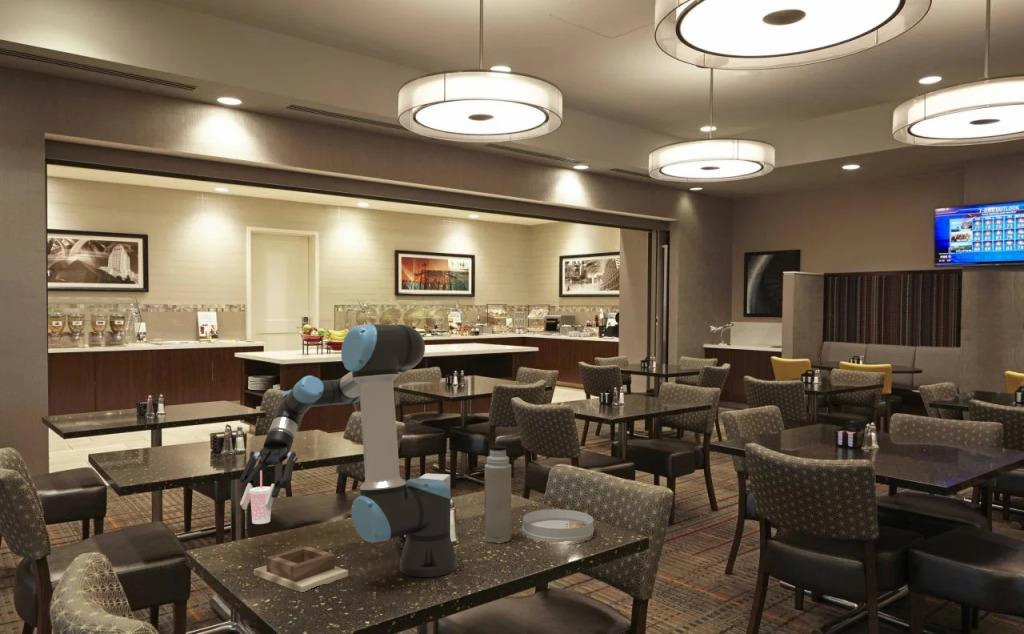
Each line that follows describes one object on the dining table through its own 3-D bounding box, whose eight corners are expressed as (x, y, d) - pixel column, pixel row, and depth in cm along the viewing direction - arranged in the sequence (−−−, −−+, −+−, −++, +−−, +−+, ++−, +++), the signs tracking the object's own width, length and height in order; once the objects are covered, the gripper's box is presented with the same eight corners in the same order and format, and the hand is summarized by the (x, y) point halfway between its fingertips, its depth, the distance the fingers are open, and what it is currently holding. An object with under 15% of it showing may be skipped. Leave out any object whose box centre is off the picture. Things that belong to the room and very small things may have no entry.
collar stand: (348, 576, 180) (348, 556, 180) (302, 593, 169) (302, 572, 169) (299, 560, 192) (299, 542, 192) (253, 575, 181) (253, 555, 181)
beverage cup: (266, 517, 197) (266, 467, 197) (276, 521, 193) (276, 470, 193) (245, 521, 193) (245, 470, 193) (255, 526, 188) (255, 473, 189)
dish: (508, 538, 213) (508, 521, 213) (543, 520, 232) (544, 505, 232) (574, 550, 202) (574, 533, 202) (605, 531, 220) (605, 515, 220)
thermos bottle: (480, 542, 208) (481, 447, 208) (489, 534, 216) (489, 443, 216) (506, 545, 206) (506, 449, 206) (514, 537, 213) (514, 444, 213)
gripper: (315, 444, 207) (293, 515, 191) (253, 444, 209) (226, 513, 193) (308, 429, 202) (285, 500, 186) (245, 428, 204) (216, 499, 188)
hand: (255, 507), depth 189 cm, fingers closed on beverage cup, 6 cm apart
